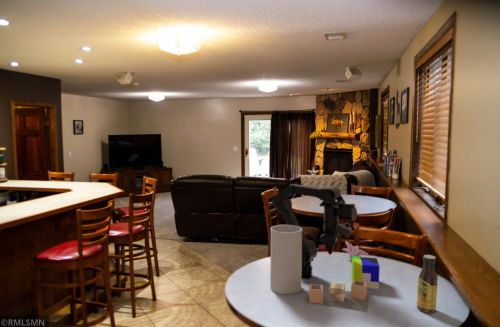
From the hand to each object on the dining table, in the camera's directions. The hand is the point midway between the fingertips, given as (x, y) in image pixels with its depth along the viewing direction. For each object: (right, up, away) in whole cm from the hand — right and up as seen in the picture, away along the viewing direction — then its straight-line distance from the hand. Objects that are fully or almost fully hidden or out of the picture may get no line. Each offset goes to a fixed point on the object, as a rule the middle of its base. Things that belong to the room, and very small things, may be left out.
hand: (330, 254), depth 159 cm
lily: (+18, -11, +29) cm, 36 cm away
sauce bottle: (+30, -15, -23) cm, 40 cm away
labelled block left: (-9, -13, -16) cm, 23 cm away
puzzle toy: (+15, -13, 0) cm, 19 cm away
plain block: (0, -13, -15) cm, 20 cm away
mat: (0, -14, -14) cm, 20 cm away
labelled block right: (+8, -13, -13) cm, 20 cm away
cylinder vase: (-19, -13, -5) cm, 24 cm away
